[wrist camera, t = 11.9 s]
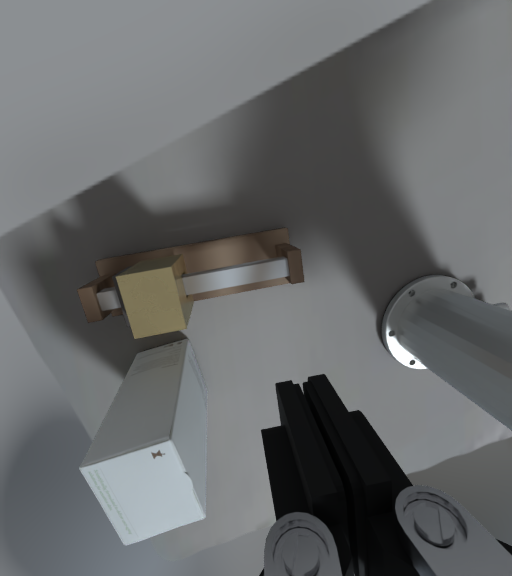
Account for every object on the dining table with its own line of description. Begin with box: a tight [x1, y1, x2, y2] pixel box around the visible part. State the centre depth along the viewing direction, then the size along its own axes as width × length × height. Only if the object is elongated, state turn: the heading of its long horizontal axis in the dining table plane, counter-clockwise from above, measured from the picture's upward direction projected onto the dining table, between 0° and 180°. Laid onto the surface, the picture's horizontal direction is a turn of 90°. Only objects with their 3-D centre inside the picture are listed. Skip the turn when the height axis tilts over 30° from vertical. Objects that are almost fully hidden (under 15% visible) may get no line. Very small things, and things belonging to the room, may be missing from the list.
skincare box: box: [79, 339, 208, 545], centre depth 27 cm, size 8×7×16 cm
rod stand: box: [77, 228, 304, 327], centre depth 28 cm, size 20×6×8 cm, turn 99°
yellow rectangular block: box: [116, 254, 194, 339], centre depth 25 cm, size 4×5×7 cm
